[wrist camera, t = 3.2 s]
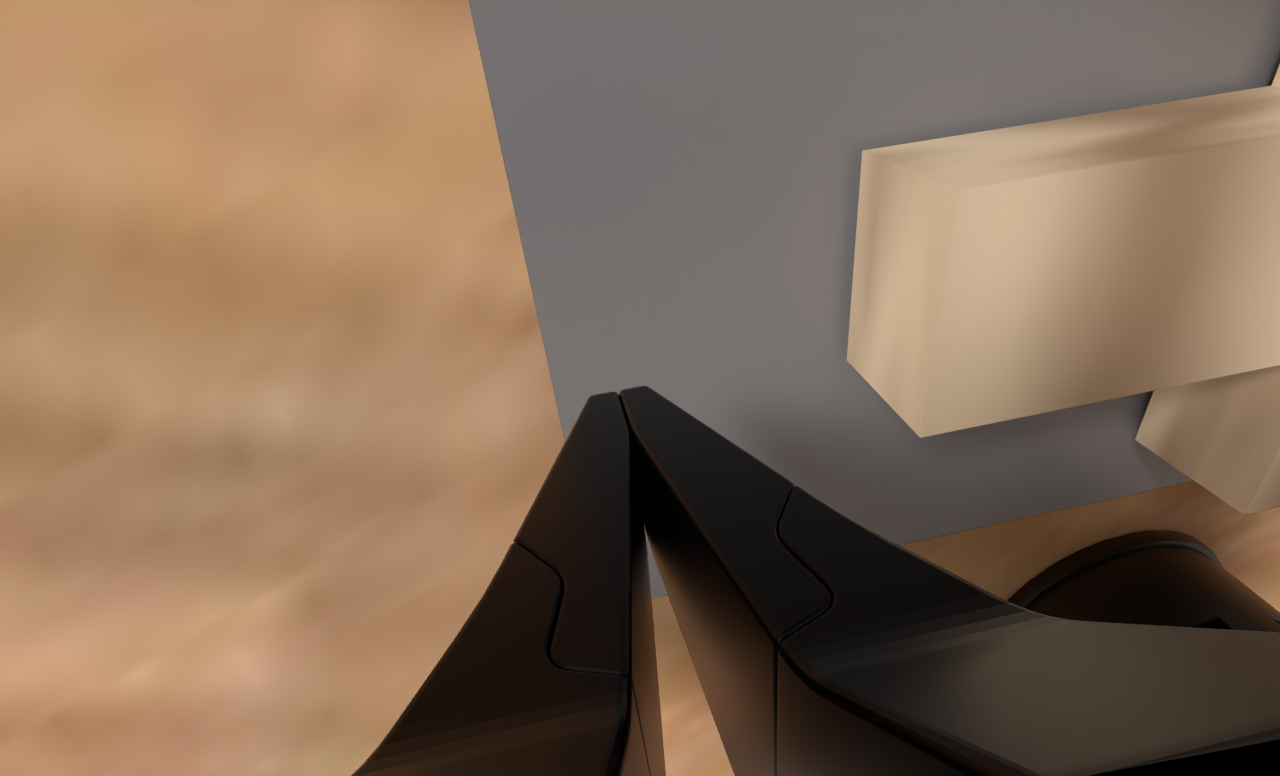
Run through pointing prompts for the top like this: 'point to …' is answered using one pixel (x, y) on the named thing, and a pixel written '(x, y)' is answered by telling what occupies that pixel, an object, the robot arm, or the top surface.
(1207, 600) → the french press
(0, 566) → the top surface
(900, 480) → the board
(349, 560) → the top surface
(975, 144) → the maple T-block
